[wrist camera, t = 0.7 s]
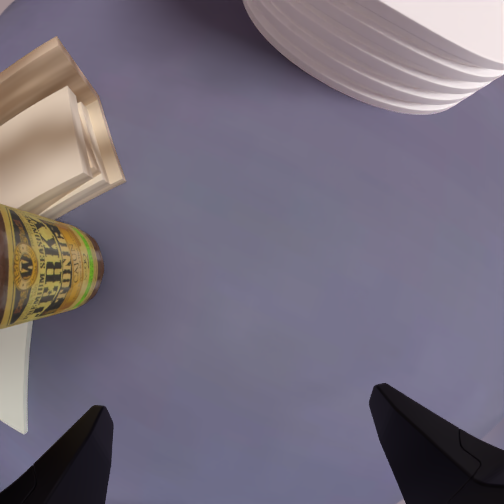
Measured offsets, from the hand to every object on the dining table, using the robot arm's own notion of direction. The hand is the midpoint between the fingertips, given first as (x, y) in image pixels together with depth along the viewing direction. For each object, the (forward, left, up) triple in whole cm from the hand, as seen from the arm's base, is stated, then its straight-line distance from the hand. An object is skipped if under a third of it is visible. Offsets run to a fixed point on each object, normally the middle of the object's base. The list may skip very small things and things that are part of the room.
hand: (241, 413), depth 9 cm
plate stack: (+35, -5, -14) cm, 38 cm away
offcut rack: (+7, +18, -14) cm, 24 cm away
